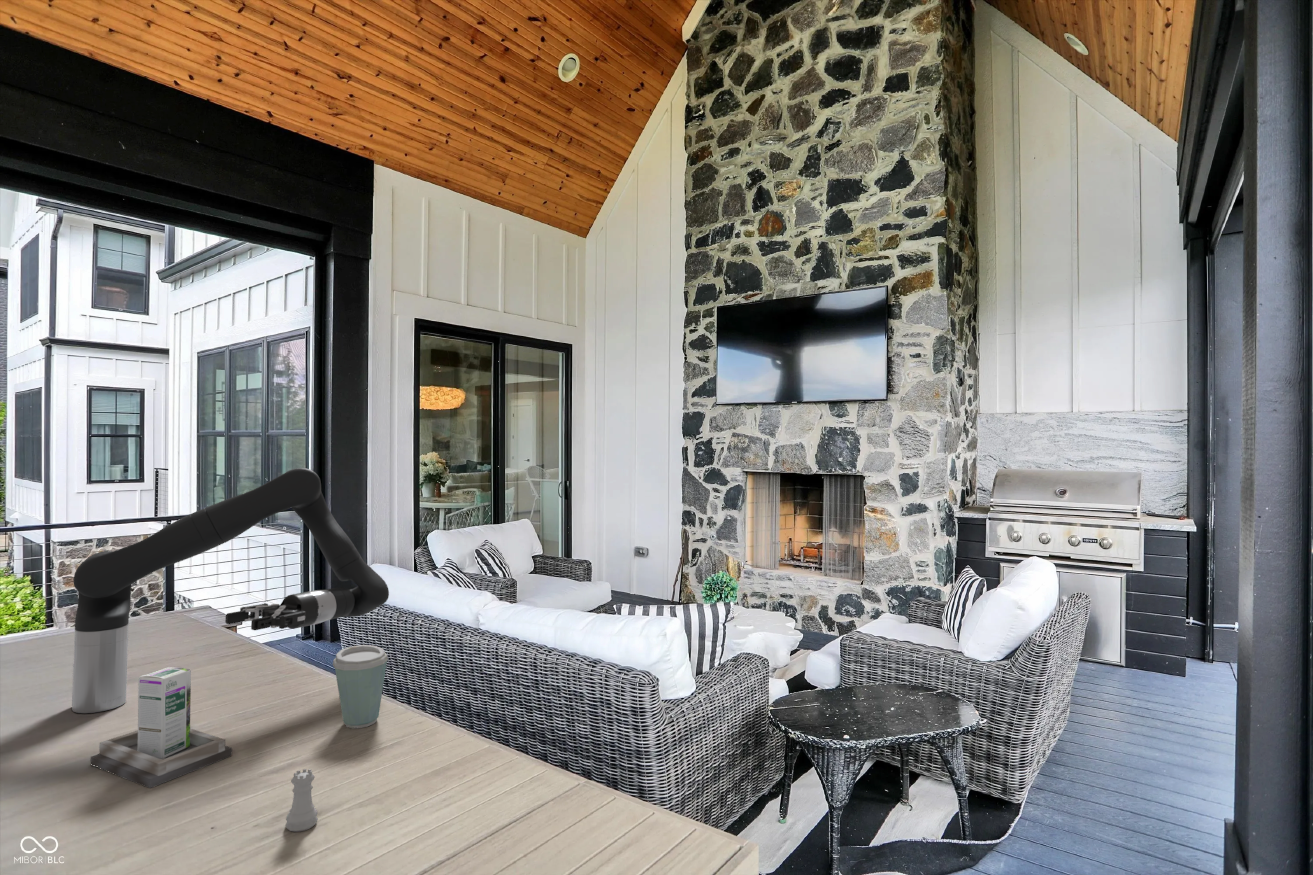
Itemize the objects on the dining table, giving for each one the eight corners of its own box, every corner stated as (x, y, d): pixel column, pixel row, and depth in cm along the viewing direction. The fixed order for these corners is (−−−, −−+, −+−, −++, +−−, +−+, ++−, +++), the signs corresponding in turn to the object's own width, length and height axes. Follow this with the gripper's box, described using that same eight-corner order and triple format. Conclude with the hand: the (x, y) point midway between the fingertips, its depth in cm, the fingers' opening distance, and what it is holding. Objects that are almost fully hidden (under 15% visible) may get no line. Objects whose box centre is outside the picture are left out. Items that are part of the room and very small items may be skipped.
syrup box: (162, 760, 125) (164, 678, 125) (135, 756, 126) (138, 674, 126) (190, 746, 130) (192, 668, 130) (164, 743, 131) (166, 665, 132)
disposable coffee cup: (395, 723, 147) (397, 651, 147) (344, 738, 139) (346, 662, 139) (372, 709, 154) (374, 640, 154) (322, 722, 146) (324, 650, 146)
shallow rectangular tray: (90, 764, 125) (91, 745, 125) (173, 736, 138) (173, 718, 138) (150, 787, 118) (150, 766, 118) (231, 755, 130) (232, 736, 130)
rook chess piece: (292, 817, 109) (294, 766, 110) (322, 816, 110) (323, 765, 110) (279, 833, 105) (281, 779, 105) (310, 832, 105) (312, 778, 105)
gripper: (289, 587, 163) (219, 599, 148) (331, 595, 156) (262, 608, 142) (287, 620, 163) (216, 635, 148) (329, 629, 156) (260, 645, 142)
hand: (239, 622), depth 145 cm, fingers open, 8 cm apart
